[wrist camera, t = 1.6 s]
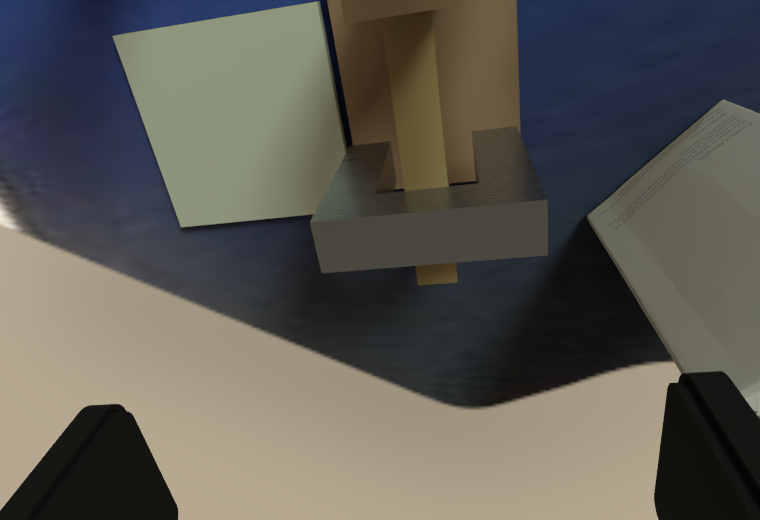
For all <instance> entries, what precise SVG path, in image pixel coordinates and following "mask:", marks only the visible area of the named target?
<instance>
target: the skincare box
mask: <svg viewBox="0 0 760 520" xmlns="http://www.w3.org/2000/svg"><path fill="white" fill-rule="evenodd" d="M587 219H588V221H589V223H590V225H591V226H592V228H593V230H594V231H595V233H596V234H597V236H598V238H599V239H600V241H601V242H602V244H603V246H604V247H605V249H606V250H607V252H608V254H609V255H610V257H611V259H612V260H613V262H614V263H615V265H616V267H617V268H618V270H619V271H620V273H621V275H622V277H623V278H624V280H625V282H626V283H627V285H628V287H629V288H630V290H631V291H632V293H633V295H634V296H635V298H636V300H637V301H638V303H639V305H640V306H641V308H642V310H643V311H644V313H645V315H646V316H647V318H648V320H649V321H650V323H651V324H652V326H653V328H654V329H655V331H656V333H657V334H658V336H659V337H660V339H661V341H662V342H663V344H664V346H665V347H666V349H667V351H668V352H669V354H670V355H671V357H672V359H673V360H674V362H675V364H676V365H677V367H678V369H679V370H680V372H681V374H683V373H693V372H711V371H722V372H725V373H726V374H727V375H728V376H729V377H730V379H731V380H732V381H733V383H734V384H735V386H736V387H737V388H738V390H739V391H740V393H741V394H742V395H743V397H744V398H745V400H746V401H747V402H748V404H749V405H750V406H751V408H752V409H753V411H754V412H755V413H756V415H757V416H758V418H759V419H760V114H759V113H756V112H754V111H751V110H749V109H746V108H744V107H741V106H739V105H736V104H733V103H731V102H728V101H726V100H722V101H720V102H719V103H718V104H716V105H715V106H714V107H713V108H712V109H711V110H709V111H708V112H707V113H706V114H705V115H703V116H702V117H701V118H700V119H699V120H698V121H696V122H695V123H694V124H693V125H692V126H691V127H689V128H688V129H687V130H686V131H685V132H684V133H682V134H681V135H680V136H679V137H678V138H676V139H675V140H674V141H673V142H672V143H671V144H669V145H668V146H667V147H666V148H665V149H664V150H662V151H661V152H660V153H659V154H658V155H657V156H655V157H654V158H653V159H652V160H651V161H650V162H648V163H647V164H646V165H645V166H644V167H643V168H641V169H640V170H639V171H638V172H637V173H636V174H635V175H633V176H632V177H631V178H630V179H629V180H628V181H626V182H625V183H624V184H623V185H622V186H621V187H620V188H619V189H618V190H616V191H615V192H614V193H613V194H612V195H611V196H610V197H609V198H608V199H607V200H605V201H604V202H603V203H602V204H600V205H599V206H598V207H597V208H596V209H594V210H593V211H592V212H591V213H589V214H588V215H587Z"/></svg>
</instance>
